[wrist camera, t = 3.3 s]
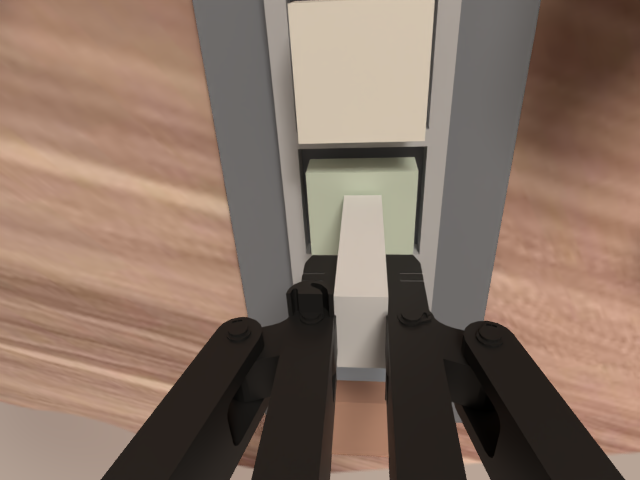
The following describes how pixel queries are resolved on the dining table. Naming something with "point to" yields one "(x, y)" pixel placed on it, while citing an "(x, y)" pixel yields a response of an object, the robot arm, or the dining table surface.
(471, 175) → the keypad
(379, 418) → the key terracotta
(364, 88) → the key cream
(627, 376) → the dining table surface
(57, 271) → the dining table surface
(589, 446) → the robot arm
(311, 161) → the key sage
